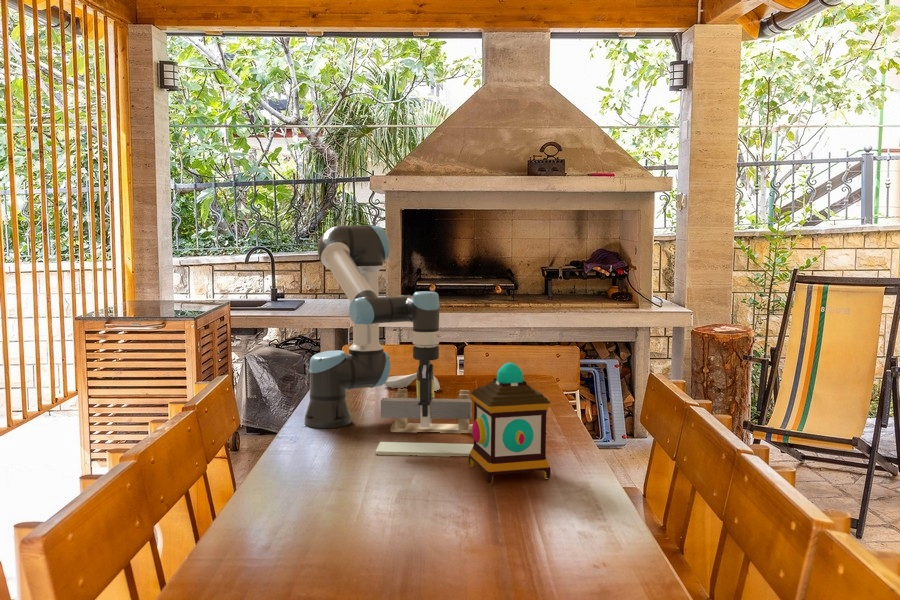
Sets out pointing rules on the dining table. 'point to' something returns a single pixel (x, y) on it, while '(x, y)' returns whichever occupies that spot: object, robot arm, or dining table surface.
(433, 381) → the sauce bottle
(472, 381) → the dining table surface
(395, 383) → the spoon rest
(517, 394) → the decorative lantern
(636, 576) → the dining table surface
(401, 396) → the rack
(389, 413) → the rail
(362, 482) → the dining table surface
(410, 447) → the mat
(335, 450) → the dining table surface
